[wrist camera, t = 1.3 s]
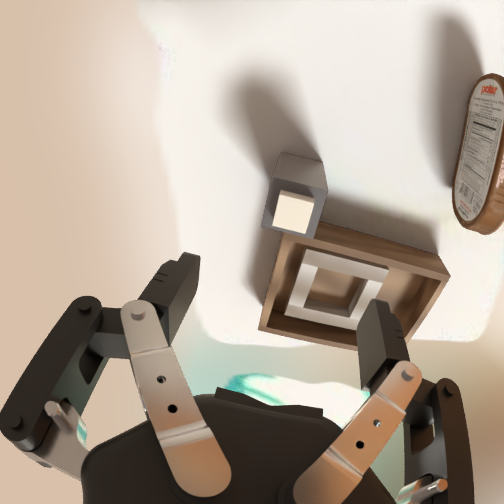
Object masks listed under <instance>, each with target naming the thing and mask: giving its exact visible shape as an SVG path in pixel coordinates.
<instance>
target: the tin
mask: <svg viewBox="0 0 504 504" xmlns="http://www.w3.org/2000/svg"><path fill="white" fill-rule="evenodd" d="M452 203H453V209H454V213H455V215H456V217H457V219H458V221H459V223H460V224H461V225H462V226H463V227H464V228H466V229H469V230H472V231H476V232H479V233H480V234H483V235H489V234H492V233H493V232H495V231H496V230H497V229H498V228H499V227H500V226H501V225H502V223H503V222H504V77H502V76H500V75H498V74H494V73H490V74H487V75H484V76H482V77H481V78H480V79H479V80H478V81H477V83H476V84H475V86H474V88H473V90H472V93H471V95H470V99H469V103H468V108H467V114H466V120H465V126H464V131H463V136H462V141H461V146H460V151H459V156H458V160H457V165H456V169H455V173H454V178H453V186H452Z"/></svg>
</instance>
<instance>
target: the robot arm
mask: <svg viewBox="0 0 504 504" xmlns="http://www.w3.org/2000/svg"><path fill="white" fill-rule="evenodd" d="M199 269H200V256H199V255H195V254H191V253H187V252H184V253H183V254H182V255H181V257H180V258H179V260H178V261H174V260H170V261H168V262H166V263H164V264H163V265H162V266H161V267H160V269H159V270H158V271H157V273H156V274H155V276H154V277H153V279H152V280H151V281H150V282H149V284H148V285H147V287H146V288H145V289H144V291H143V292H142V294H141V295H140V297H139V298H138V300H133V301H130V302H128V303H126V304H125V305H124V306H123V307H122V308H106V307H102V305H101V302H100V301H99V300H98V299H97V298H95V297H92V296H82V297H79V298H77V299H75V300H74V301H73V302H72V303H71V304H70V306H69V307H68V308H67V310H66V311H65V313H64V314H63V315H62V317H61V318H60V319H59V321H58V322H57V324H56V325H55V326H54V328H53V329H52V330H51V332H50V333H49V335H48V336H47V338H46V339H45V341H44V342H43V343H42V345H41V346H40V348H39V349H38V351H37V353H36V354H35V355H34V357H33V359H32V360H31V362H30V363H29V365H28V366H27V368H26V369H25V371H24V373H23V374H22V376H21V377H20V379H19V381H18V382H17V384H16V386H15V387H14V389H13V391H12V392H11V394H10V396H9V398H8V399H7V401H6V403H5V405H4V407H3V409H2V410H1V412H0V430H1V432H2V434H3V435H4V436H5V437H6V438H7V439H8V440H9V441H11V442H12V443H13V444H14V445H15V446H16V447H17V448H18V449H19V450H20V451H22V452H23V453H24V454H26V455H27V456H28V457H29V458H31V459H32V460H34V461H36V462H38V463H39V464H40V465H42V466H44V467H49V468H51V467H54V468H56V469H58V470H59V471H61V472H63V473H65V474H67V475H69V476H71V477H73V478H75V479H77V480H79V481H81V483H82V489H83V504H475V503H474V482H473V471H472V460H471V451H470V444H469V437H468V430H467V425H466V419H465V413H464V409H463V403H462V399H461V394H460V390H459V388H458V386H457V385H456V383H454V382H453V381H452V380H450V379H448V378H443V379H440V380H439V381H438V382H437V383H436V384H435V383H432V382H430V381H428V380H425V379H423V378H422V374H421V371H420V370H419V368H418V367H417V366H416V365H415V364H413V363H412V362H410V359H409V354H408V350H407V346H406V342H405V339H404V334H403V332H402V331H403V330H402V326H401V323H400V321H399V320H398V318H397V317H396V315H395V314H392V313H391V311H390V307H389V303H388V302H387V301H383V300H379V299H374V298H373V299H371V300H370V302H369V304H368V306H367V308H366V310H365V311H364V313H363V315H362V317H361V319H360V321H359V323H358V326H357V330H356V336H357V346H358V356H359V366H360V379H361V390H363V391H370V396H369V397H368V398H367V400H366V401H365V402H364V403H363V405H362V406H361V407H360V408H359V409H358V410H357V412H356V413H355V414H354V415H353V416H352V417H351V419H350V420H349V421H348V422H347V423H346V424H345V425H344V426H343V427H342V428H340V427H339V426H338V425H337V424H336V423H334V422H333V421H331V420H329V419H327V418H325V417H323V409H321V408H314V407H308V406H302V405H283V406H270V405H267V404H265V403H263V402H260V401H258V400H256V399H254V398H252V397H250V396H248V395H245V394H243V393H239V392H235V391H231V390H227V389H223V388H219V387H217V389H216V392H215V394H201V395H196V396H192V393H191V391H190V389H189V386H188V384H187V382H186V379H185V377H184V375H183V372H182V370H181V367H180V365H179V363H178V360H177V358H176V355H175V352H174V350H173V348H172V347H171V346H170V345H171V343H172V341H173V339H174V337H175V335H176V333H177V331H178V329H179V326H180V324H181V322H182V320H183V318H184V316H185V314H186V312H187V310H188V308H189V306H190V304H191V302H192V300H193V298H194V296H195V294H196V291H197V287H198V280H199ZM109 358H121V359H129V360H130V364H131V368H132V371H133V375H134V378H135V382H136V385H137V388H138V392H139V395H140V398H141V402H142V405H143V408H144V411H145V414H146V417H147V421H145V422H143V423H141V424H139V425H137V426H135V427H133V428H131V429H129V430H128V431H125V432H124V433H121V434H119V435H118V436H116V437H113V438H112V439H109V440H107V441H106V442H103V443H101V444H99V445H97V446H96V447H94V448H93V449H92V450H91V451H90V452H89V451H88V450H87V449H86V444H85V443H86V437H87V428H86V425H85V423H84V422H83V420H82V419H81V415H82V413H83V411H84V408H85V406H86V404H87V402H88V400H89V398H90V396H91V394H92V391H93V390H94V388H95V386H96V384H97V381H98V380H99V378H100V376H101V373H102V371H103V370H104V368H105V366H106V364H107V362H108V360H109ZM401 421H402V422H403V425H404V452H405V484H404V487H403V488H402V489H401V491H400V492H399V494H398V497H397V499H396V501H395V500H394V499H393V497H392V496H391V495H390V493H389V492H388V491H387V489H386V488H385V487H384V486H383V484H382V483H381V481H380V480H379V479H378V477H377V476H376V475H375V473H374V472H373V471H372V469H371V468H370V465H371V464H372V463H373V461H374V460H375V459H376V457H377V456H378V455H379V453H380V452H381V451H382V449H383V448H384V446H385V445H386V444H387V442H388V440H389V439H390V438H391V436H392V435H393V433H394V432H395V430H396V429H397V427H398V426H399V424H400V423H401ZM433 423H434V427H435V438H434V437H433V426H432V424H433Z"/></svg>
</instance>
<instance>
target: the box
mask: <svg viewBox="0 0 504 504" xmlns="http://www.w3.org/2000/svg"><path fill="white" fill-rule="evenodd" d="M450 277H451V276H450V274H449V272H448V271H447V269H446V267H445V266H444V264H443V262H442V260H441V259H440V257H439V256H438V255H435V254H431V253H428V252H425V251H422V250H418V249H415V248H412V247H409V246H405V245H402V244H399V243H395V242H392V241H388V240H385V239H381V238H378V237H374V236H371V235H367V234H364V233H360V232H357V231H353V230H349V229H346V228H342V227H338V226H335V225H331V224H327V223H323V222H320V221H319V222H318V225H317V229H316V232H315V235H314V238H313V239H309V238H305V237H301V236H297V235H293V234H289V233H285V232H283V235H282V238H281V242H280V246H279V250H278V253H277V257H276V261H275V265H274V268H273V272H272V276H271V279H270V283H269V287H268V290H267V294H266V298H265V301H264V305H263V309H262V313H261V318H260V322H259V327H258V330H260V331H264V332H268V333H272V334H277V335H281V336H285V337H290V338H294V339H299V340H304V341H308V342H313V343H318V344H323V345H328V346H333V347H338V348H344V349H349V350H354V351H358V346H357V336H356V330H357V326H358V323H359V321H360V319H361V317H362V315H363V313H364V311H365V310H366V308H367V306H368V304H369V302H370V300H371V299H373V298H374V299H379V300H383V301H387V302H388V303H389V307H390V311H391V313H392V314H395V315H396V317H397V318H398V320H399V321H400V323H401V326H402V330H403V331H402V332H403V334H404V339H405V342H406V344H407V343H408V342H409V340H410V339H411V338H412V336H413V335H414V333H415V332H416V330H417V329H418V328H419V326H420V325H421V323H422V322H423V320H424V319H425V317H426V316H427V314H428V313H429V311H430V310H431V308H432V306H433V305H434V303H435V302H436V300H437V298H438V297H439V295H440V294H441V292H442V290H443V289H444V287H445V285H446V284H447V282H448V280H449V278H450Z"/></svg>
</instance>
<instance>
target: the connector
mask: <svg viewBox="0 0 504 504" xmlns="http://www.w3.org/2000/svg"><path fill="white" fill-rule="evenodd" d="M327 193H328V187H327V182H326V176H325V171H324V166H323V162H319V161H315V160H312V159H308V158H304V157H300V156H296V155H292V154H287V153H283V152H281V154H280V157H279V159H278V162H277V165H276V167H275V170H274V172H273V175H272V178H271V183H270V188H269V192H268V197H267V201H266V206H265V211H264V215H263V220H262V224H261V227H265V228H269V229H273V230H277V231H281V232H285V233H289V234H293V235H297V236H301V237H305V238H309V239H313V238H314V235H315V232H316V229H317V225H318V222H319V219H320V216H321V213H322V209H323V206H324V203H325V200H326V196H327Z"/></svg>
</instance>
